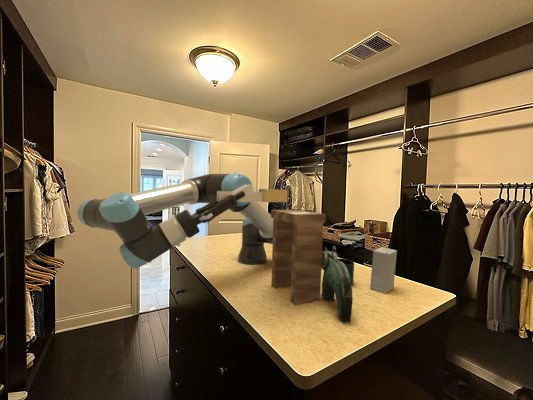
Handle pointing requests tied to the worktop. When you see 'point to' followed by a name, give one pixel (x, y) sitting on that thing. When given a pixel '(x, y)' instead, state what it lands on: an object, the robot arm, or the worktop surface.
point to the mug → (349, 268)
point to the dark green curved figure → (337, 284)
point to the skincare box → (383, 269)
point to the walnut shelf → (297, 253)
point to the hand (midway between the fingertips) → (250, 188)
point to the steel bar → (258, 196)
